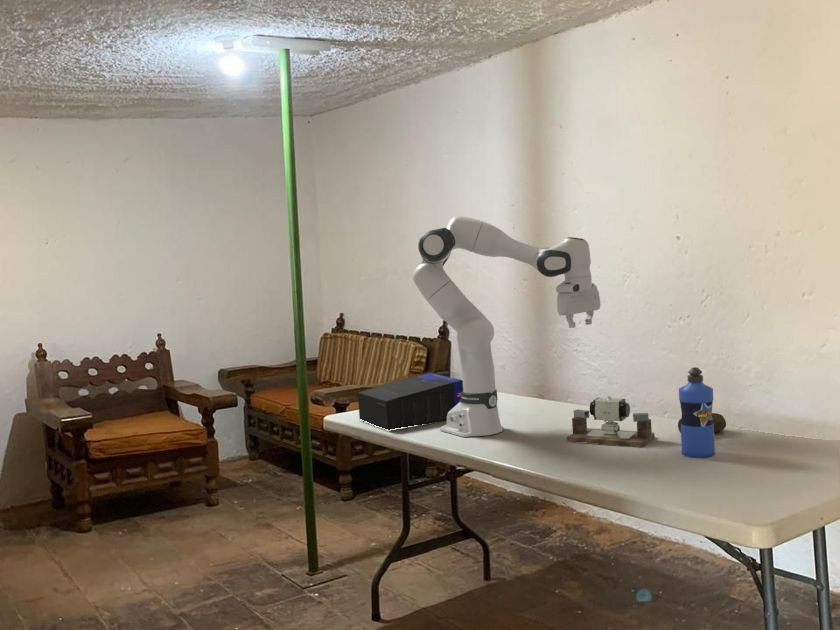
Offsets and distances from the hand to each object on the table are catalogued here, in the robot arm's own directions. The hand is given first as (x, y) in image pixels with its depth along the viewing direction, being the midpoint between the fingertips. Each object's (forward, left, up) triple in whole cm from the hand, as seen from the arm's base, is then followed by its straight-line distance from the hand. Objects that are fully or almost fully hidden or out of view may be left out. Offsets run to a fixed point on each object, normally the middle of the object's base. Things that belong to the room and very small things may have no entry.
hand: (580, 326), depth 277 cm
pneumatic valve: (+18, -12, -32) cm, 39 cm away
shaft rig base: (+18, -12, -34) cm, 40 cm away
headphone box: (-61, -22, -35) cm, 74 cm away
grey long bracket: (+18, -12, -33) cm, 39 cm away
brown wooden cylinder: (+38, +8, -34) cm, 52 cm away
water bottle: (+48, -13, -34) cm, 60 cm away
